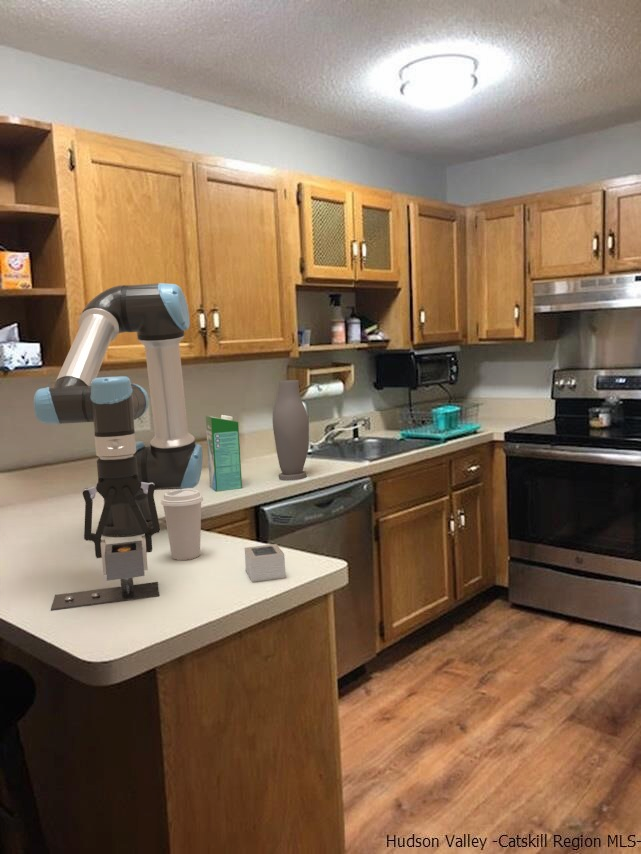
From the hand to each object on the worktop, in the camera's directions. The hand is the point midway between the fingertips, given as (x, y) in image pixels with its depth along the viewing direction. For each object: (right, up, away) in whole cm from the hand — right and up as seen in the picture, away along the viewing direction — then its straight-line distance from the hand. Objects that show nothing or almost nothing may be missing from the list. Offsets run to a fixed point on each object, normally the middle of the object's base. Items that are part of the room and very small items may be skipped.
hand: (125, 570), depth 139 cm
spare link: (+27, -2, +9) cm, 28 cm away
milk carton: (+6, +8, +101) cm, 101 cm away
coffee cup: (+7, -2, +24) cm, 25 cm away
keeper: (-4, -5, 0) cm, 6 cm away
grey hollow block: (0, 0, 0) cm, 0 cm away
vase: (+29, +10, +114) cm, 118 cm away
